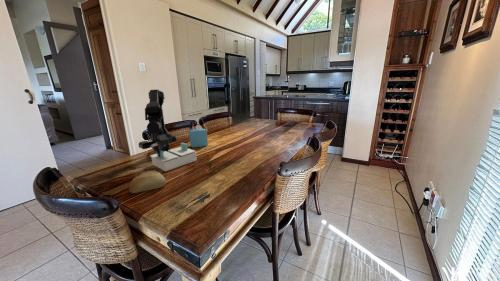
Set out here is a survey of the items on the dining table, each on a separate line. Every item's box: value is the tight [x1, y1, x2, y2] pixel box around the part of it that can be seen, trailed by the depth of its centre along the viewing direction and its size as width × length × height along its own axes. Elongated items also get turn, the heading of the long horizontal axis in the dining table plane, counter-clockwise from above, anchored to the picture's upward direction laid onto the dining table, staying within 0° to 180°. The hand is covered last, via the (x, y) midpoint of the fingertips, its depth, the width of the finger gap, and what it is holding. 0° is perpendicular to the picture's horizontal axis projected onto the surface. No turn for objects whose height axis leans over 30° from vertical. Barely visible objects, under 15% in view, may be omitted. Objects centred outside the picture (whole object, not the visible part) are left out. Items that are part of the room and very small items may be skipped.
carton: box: [151, 152, 198, 172], centre depth 122 cm, size 15×20×5 cm
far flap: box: [168, 142, 197, 156], centre depth 124 cm, size 14×10×4 cm, turn 49°
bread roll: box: [128, 170, 167, 194], centre depth 92 cm, size 10×15×8 cm, turn 123°
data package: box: [188, 128, 209, 148], centre depth 151 cm, size 12×4×12 cm, turn 109°
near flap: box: [149, 148, 179, 162], centre depth 116 cm, size 14×10×4 cm, turn 49°
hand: (160, 156), depth 115 cm, fingers closed on near flap
